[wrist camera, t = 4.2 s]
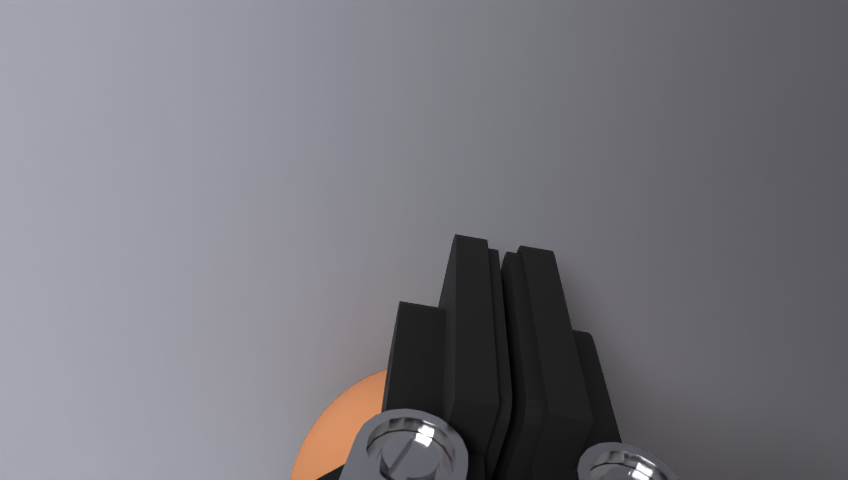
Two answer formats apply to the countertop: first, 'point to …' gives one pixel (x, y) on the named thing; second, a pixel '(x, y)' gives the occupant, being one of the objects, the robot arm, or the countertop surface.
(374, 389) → the ball
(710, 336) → the countertop surface
